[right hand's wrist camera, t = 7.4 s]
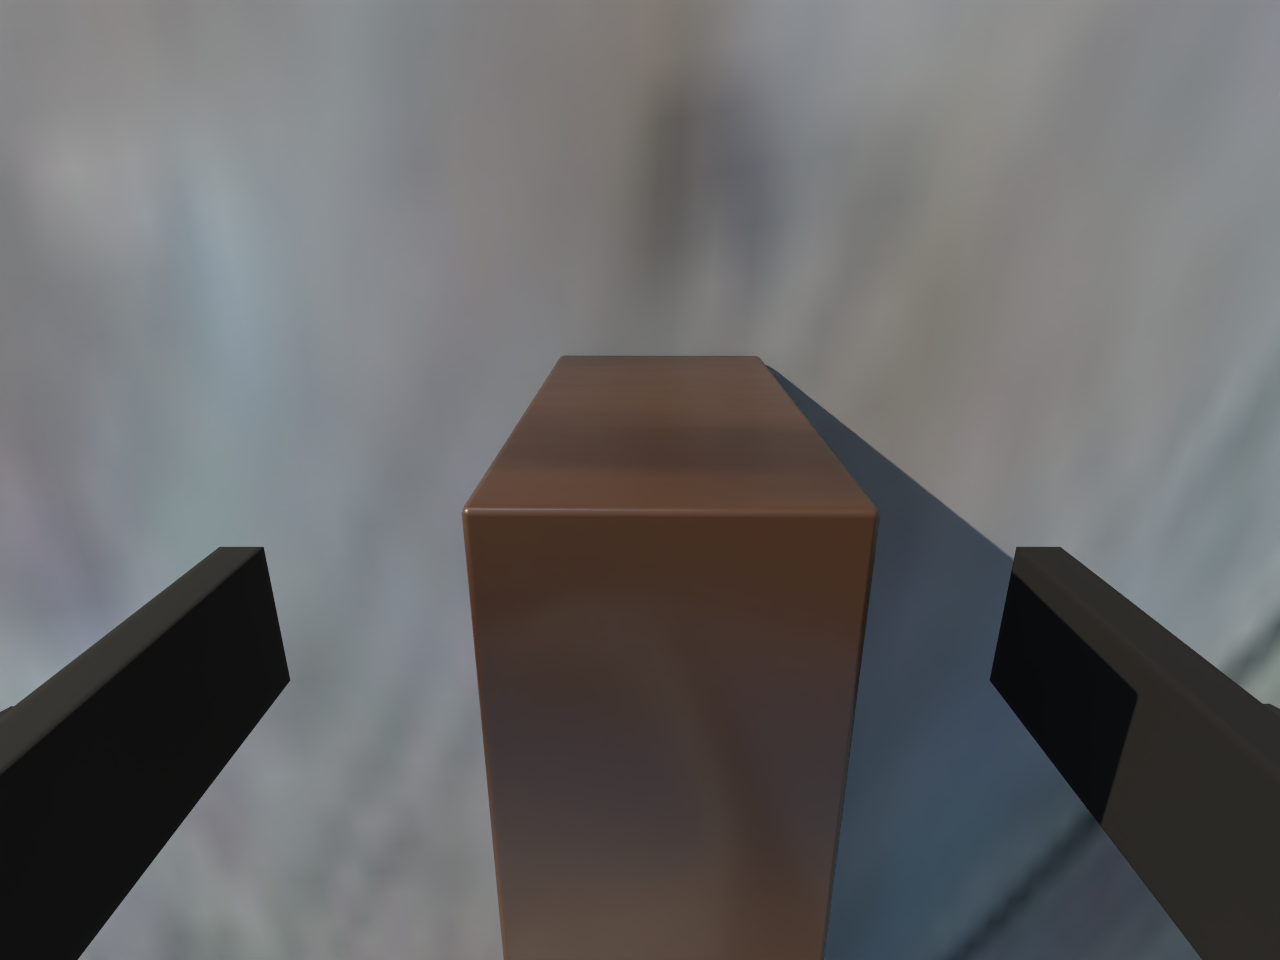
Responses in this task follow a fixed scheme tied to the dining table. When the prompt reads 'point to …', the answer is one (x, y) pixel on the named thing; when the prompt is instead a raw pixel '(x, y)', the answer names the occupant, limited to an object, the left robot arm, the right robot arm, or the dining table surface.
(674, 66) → the dining table surface
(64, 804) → the right robot arm
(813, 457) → the walnut beam
